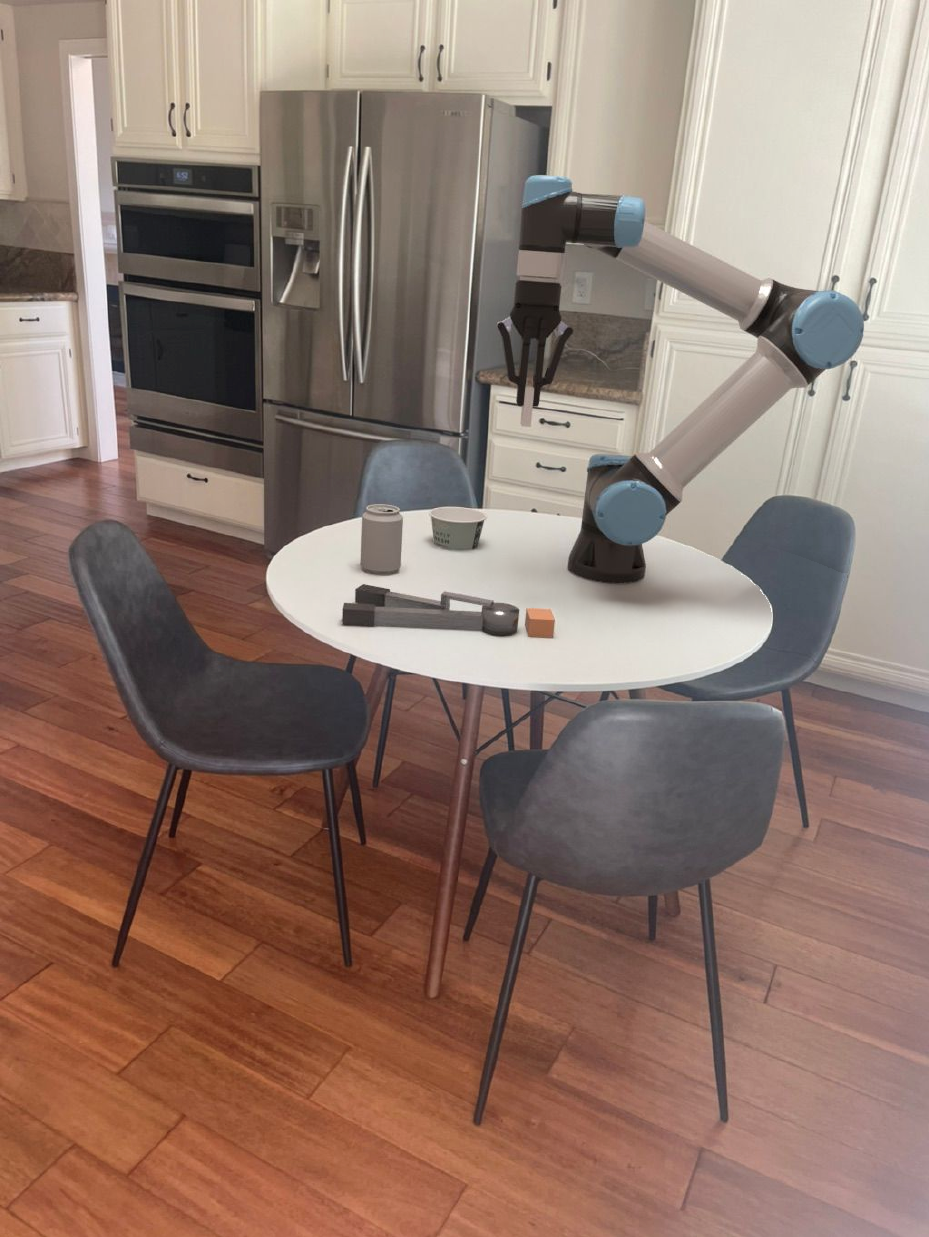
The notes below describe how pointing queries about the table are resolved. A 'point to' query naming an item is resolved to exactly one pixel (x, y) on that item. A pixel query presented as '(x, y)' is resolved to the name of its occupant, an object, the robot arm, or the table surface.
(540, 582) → the table surface
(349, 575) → the table surface
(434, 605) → the tongs arm
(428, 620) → the tongs fixed
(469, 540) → the food container
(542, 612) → the terracotta clay cube
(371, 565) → the can
